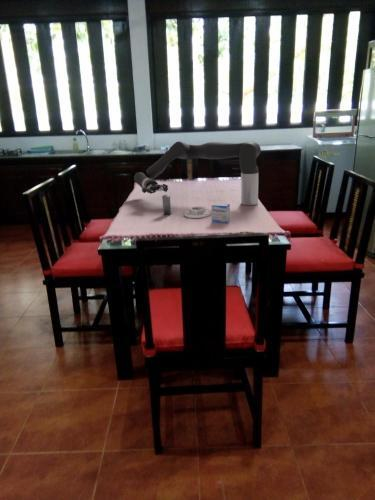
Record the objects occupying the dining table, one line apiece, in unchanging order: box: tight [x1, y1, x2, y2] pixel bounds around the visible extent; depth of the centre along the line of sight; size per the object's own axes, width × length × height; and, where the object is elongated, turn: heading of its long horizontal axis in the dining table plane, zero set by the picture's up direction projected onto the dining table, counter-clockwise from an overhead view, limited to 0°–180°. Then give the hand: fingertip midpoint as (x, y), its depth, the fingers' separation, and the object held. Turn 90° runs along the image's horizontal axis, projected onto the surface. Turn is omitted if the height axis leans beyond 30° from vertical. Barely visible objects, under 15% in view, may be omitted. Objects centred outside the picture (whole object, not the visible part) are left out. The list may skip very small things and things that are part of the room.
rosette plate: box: [183, 206, 212, 219], centre depth 204 cm, size 14×14×3 cm
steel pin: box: [161, 194, 172, 216], centre depth 206 cm, size 4×4×10 cm
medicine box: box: [211, 203, 231, 224], centre depth 189 cm, size 8×4×9 cm, turn 68°
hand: (158, 190), depth 214 cm, fingers open, 8 cm apart
